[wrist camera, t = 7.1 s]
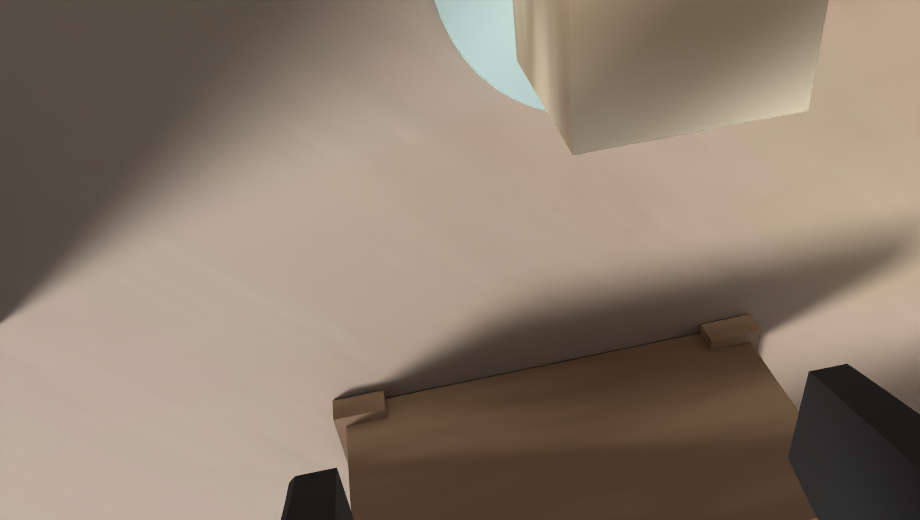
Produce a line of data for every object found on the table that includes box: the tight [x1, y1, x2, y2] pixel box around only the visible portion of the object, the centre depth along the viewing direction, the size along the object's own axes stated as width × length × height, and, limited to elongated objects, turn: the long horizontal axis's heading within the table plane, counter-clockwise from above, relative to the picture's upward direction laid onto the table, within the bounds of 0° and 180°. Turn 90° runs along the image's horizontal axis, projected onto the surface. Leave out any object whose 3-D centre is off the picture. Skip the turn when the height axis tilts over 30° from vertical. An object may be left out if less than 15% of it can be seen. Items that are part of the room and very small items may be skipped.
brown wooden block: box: [333, 315, 818, 520], centre depth 22 cm, size 4×14×7 cm, turn 97°
